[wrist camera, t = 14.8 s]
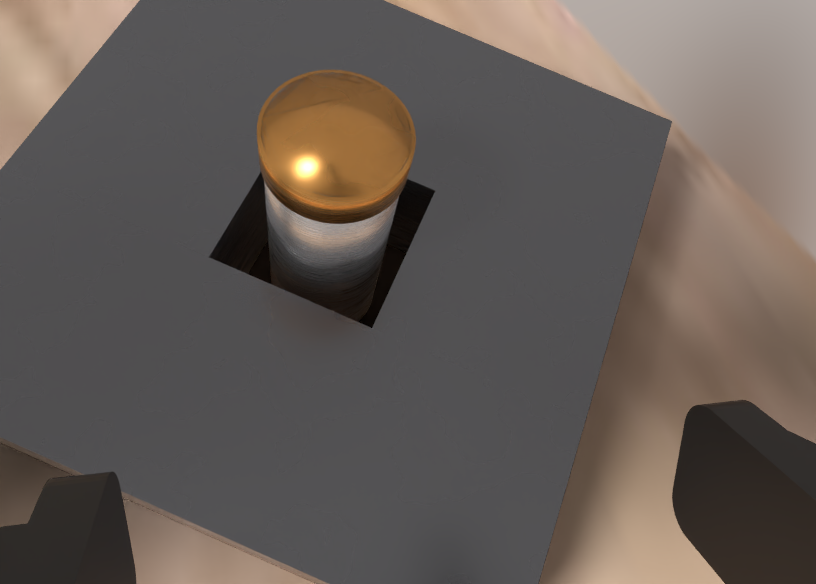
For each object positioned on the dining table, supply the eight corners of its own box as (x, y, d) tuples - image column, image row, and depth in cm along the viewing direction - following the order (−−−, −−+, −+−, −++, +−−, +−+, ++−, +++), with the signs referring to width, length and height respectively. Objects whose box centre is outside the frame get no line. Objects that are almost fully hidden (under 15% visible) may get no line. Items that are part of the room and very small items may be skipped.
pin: (250, 309, 27) (227, 160, 18) (298, 223, 28) (300, 48, 19) (350, 353, 26) (379, 225, 17) (392, 264, 28) (438, 106, 19)
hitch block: (-73, 410, 24) (-161, 365, 19) (215, 19, 32) (202, -76, 27) (471, 653, 23) (514, 666, 18) (618, 190, 31) (671, 121, 27)
